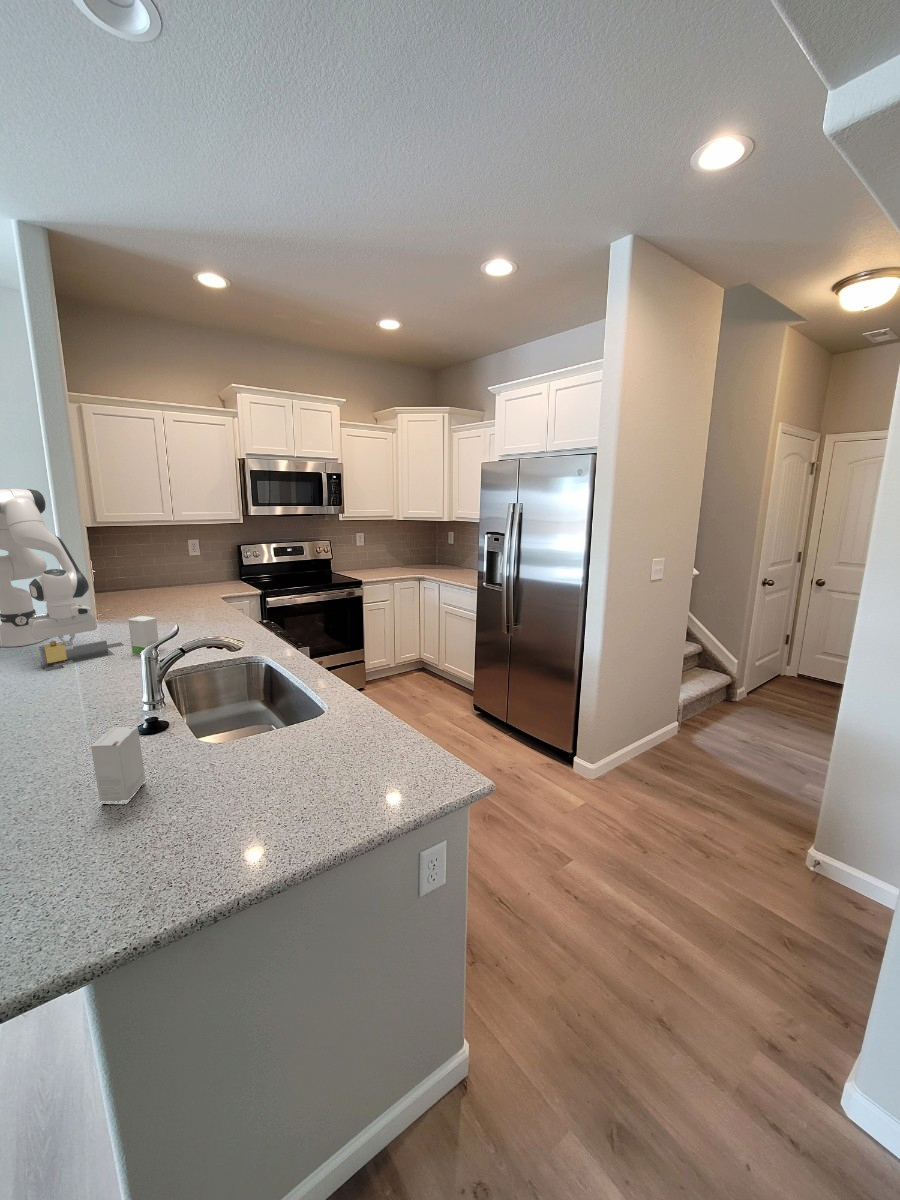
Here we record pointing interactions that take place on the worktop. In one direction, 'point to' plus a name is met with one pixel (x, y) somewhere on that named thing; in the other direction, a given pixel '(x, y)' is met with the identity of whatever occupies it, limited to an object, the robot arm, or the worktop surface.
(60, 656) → the gold knobbed block
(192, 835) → the worktop surface
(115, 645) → the thin grey square plate
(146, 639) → the skincare box
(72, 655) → the rail
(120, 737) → the skincare box
